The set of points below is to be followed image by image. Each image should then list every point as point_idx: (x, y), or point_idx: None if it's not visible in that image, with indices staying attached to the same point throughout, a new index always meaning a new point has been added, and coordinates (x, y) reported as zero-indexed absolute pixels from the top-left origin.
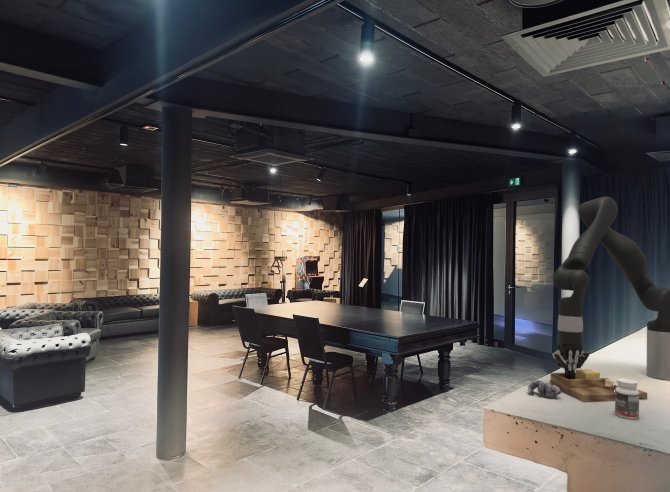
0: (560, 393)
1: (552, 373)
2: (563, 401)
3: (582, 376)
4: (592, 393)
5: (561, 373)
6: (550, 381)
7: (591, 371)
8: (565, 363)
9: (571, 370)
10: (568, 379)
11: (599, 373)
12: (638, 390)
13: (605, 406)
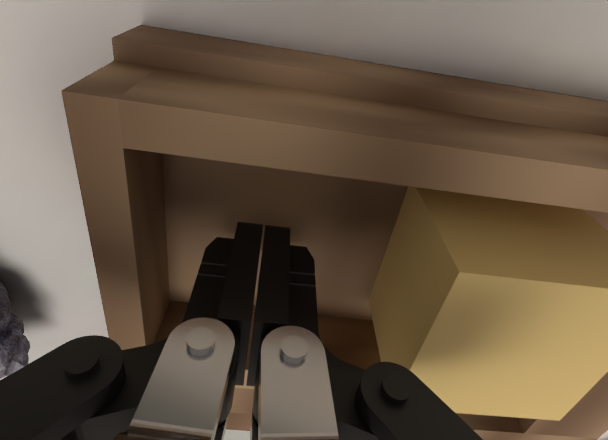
0: (28, 349)
1: (82, 124)
2: (40, 356)
3: (397, 324)
4: (245, 410)
5: (245, 160)
6: (121, 54)
7: (550, 374)
8: (168, 428)
9: (250, 374)
10: None
11: (554, 415)
12: (596, 426)
13: (237, 431)
